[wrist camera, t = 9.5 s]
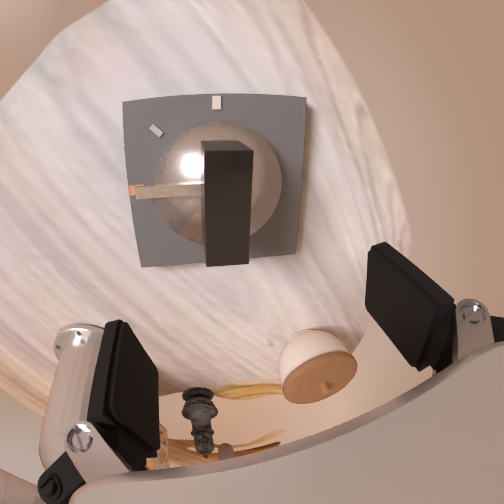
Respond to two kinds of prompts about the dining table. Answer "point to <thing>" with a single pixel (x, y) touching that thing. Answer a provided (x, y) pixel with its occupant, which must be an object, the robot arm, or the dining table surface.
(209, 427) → the dark grey chess piece
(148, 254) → the dial plate
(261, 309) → the dining table surface
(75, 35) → the dining table surface
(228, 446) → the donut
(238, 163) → the dial
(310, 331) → the lidded jar
